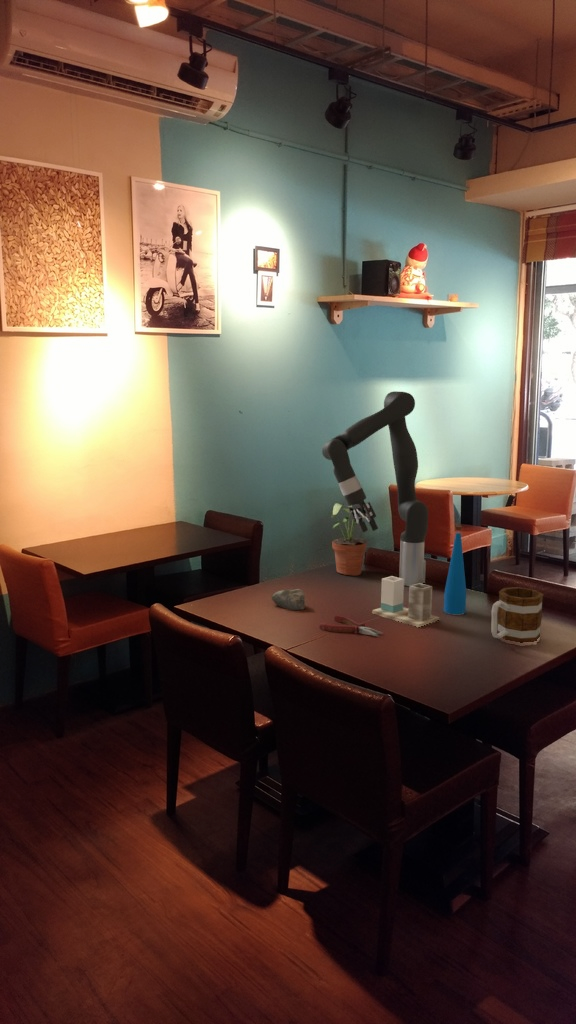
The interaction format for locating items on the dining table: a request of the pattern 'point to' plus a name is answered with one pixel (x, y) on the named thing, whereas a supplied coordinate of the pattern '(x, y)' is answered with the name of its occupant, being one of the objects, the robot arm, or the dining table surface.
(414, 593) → the peg socket fixture
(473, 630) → the dining table surface
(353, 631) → the pliers
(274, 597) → the rock
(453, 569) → the bottle
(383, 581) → the sleeve
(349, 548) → the potted plant
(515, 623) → the mug
